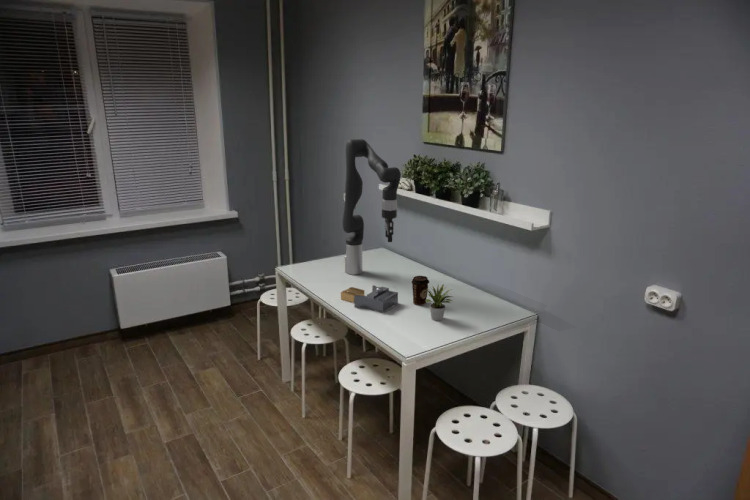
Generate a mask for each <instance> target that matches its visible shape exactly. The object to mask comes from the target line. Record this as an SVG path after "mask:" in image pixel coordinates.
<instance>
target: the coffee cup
mask: <svg viewBox="0 0 750 500" xmlns="http://www.w3.org/2000/svg"><path fill="white" fill-rule="evenodd" d="M411 284H412V303H413V304H414V305H416V306H423V305H426V304H427V301H426V299H428V292H427V290H428V289H429V284H430V280H429V279H428V276H425V275H416V276H413V277H412V279H411ZM426 289H427V290H426ZM424 290H425V291H424ZM428 291H429V290H428Z"/></svg>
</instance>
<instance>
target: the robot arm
mask: <svg viewBox="0 0 750 500" xmlns="http://www.w3.org/2000/svg"><path fill="white" fill-rule="evenodd" d="M361 157H362V158H363V157H364V158H366V159H367V164H368V166H369V167H370V168H369V169H371V170H372V171H373V172H375V174H376V175H377V176H378V179H379V180H380V182H382V183H386V184H387V183H388V185H387V186H384V188H382V196H381V197H382V201H381V218H382V219H384V230H385V235H384V236H385V238H387V242H388V243H392V242H393V236H394V224H395V223H394V220H393V219H397V217H398V216H397V215H398V201H397V200H398V189H399V185H400V183H401V182H400V181H401V177H402V173H401V170H400V169H399V168H398V167H396V166H395V167H394V166H392V167H389V165H388V163H387V162H386V161H385V160H384V159H383V158H381V157H380V156H379V155H378V154H377V153H376V151H374V149H373V148H372V147H371V145H370V144H369V143H368V142H367V140H365V139H363V138H362V139H361V138H360V139H358V138H357V139H355V138H354V139H348V140H347V141H346V144H345V163H346V164H345V166H346V168H345V171H346V172H345V188H344V189H345V193H344V194H345V195H344V208H343V215H342V228H343V231H344V232H345V233H348V234H350V233H351V234H350V235H349V236H348V237H346V239H345V252H346V253H345V256H344V272H345V273H346V274H348V275H353V276H354V275H360V274H362V273H363V241H364V229H365V225H364V224H365V223H364V219H363V217H362V216H361V214H355V215H354V212H355V207H356V206H357V204H358V202H359V201H360V199H361V197H362V195H363V186H364V185H363V184H364V183H363V179H362V177H361V175H360V172H359V171H358V169H357V167H356V166H357V165H356V158H361Z"/></svg>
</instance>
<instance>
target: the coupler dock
mask: <svg viewBox="0 0 750 500" xmlns="http://www.w3.org/2000/svg"><path fill="white" fill-rule="evenodd" d="M371 287H372V290H371V292H370V293H368V294H366V295H365V296H362V295H355V296H354V303H353V304H354V308H364V309H368V310H372V311H375V312H380V313H385V312H387V311H388V310H389V309H392V307H395V306H396V305H397V304H399V301H398V300H399V292H397V291H393V290H390V289H389V287H385V286H376V285H375V284H373V285H371Z"/></svg>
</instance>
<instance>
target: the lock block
mask: <svg viewBox="0 0 750 500" xmlns="http://www.w3.org/2000/svg"><path fill="white" fill-rule="evenodd" d="M355 295H362V296H366V295H365V289H361V288H357V287H354V286H351V287H348V288H346V289H345V290H342V291H341V292H340V300H342V301H345V302H350V303H353V304H354V296H355Z"/></svg>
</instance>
